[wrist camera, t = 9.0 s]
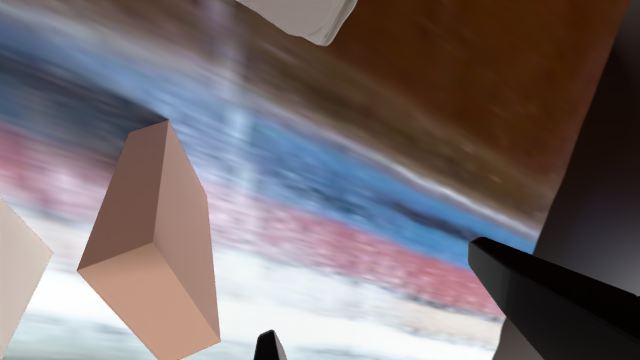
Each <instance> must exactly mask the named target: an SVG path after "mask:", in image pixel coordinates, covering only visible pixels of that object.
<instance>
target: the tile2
mask: <svg viewBox="0 0 640 360" xmlns="http://www.w3.org/2000/svg"><path fill="white" fill-rule="evenodd" d="M53 253H54V252H53V251H52V250H51V249H50V248H49V247H48V246H47V245H46V244H45V243H44V242H43V241H42V240H41V239H40V237H39V236H38V235H37V234H36V233H35V232H34V231H33V230H32V229H31V228H30V227H29V226H28V225H27V224H26V223H25V222H24V220H23V219H22V218H21V217H20V216H19V215H18V214H17V213H16V212H15V211H14V210H13V209H12V208H11V207H10V206H9V205H8V204H7V202H6V201H5V200H4V199H3V198H2V197H1V196H0V360H1V359H2V357H3V355H4V353H5V351H6V349H7V346H8V344H9V342H10V340H11V338H12V336H13V334H14V332H15V330H16V328H17V326H18V324H19V322H20V320H21V318H22V316H23V314H24V312H25V310H26V308H27V306H28V304H29V302H30V300H31V298H32V295H33V293H34V291H35V289H36V287H37V285H38V283H39V281H40V279H41V277H42V275H43V273H44V271H45V269H46V267H47V265H48V263H49V261H50V259H51V257H52V255H53Z"/></svg>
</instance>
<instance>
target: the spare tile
mask: <svg viewBox="0 0 640 360" xmlns="http://www.w3.org/2000/svg"><path fill="white" fill-rule="evenodd" d="M77 272H78V273H79V274H80V275H81V276H82V277H83V278H84V280H85V281H86V282H87V283H88V284H89V285H90V286H91V287H92V288H93V289H94V290H95V291H96V293H97V294H98V295H99V296H100V297H101V298H102V299H103V300H104V301H105V302H106V303H107V305H108V306H109V307H110V308H111V309H112V310H113V311H114V312H115V313H116V314H117V315H118V317H119V318H120V319H121V320H122V321H123V322H124V323H125V324H126V325H127V326H128V327H129V328H130V330H131V331H132V332H133V333H134V334H135V335H136V336H137V337H138V338H139V339H140V340H141V342H142V343H143V344H144V345H145V346H146V347H147V348H148V349H149V350H150V351H151V352H152V354H153V355H154V356H155V357H156V358H157V359H158V360H180V359H182V358H185V357H187V356H189V355H192V354H194V353H196V352H198V351H201V350H203V349H205V348H208V347H210V346H212V345H214V344H217V343H219V342H221V340H220V330H219V319H218V308H217V298H216V287H215V277H214V266H213V255H212V245H211V234H210V224H209V213H208V203H207V195H206V193H205V191H204V189H203V187H202V185H201V183H200V181H199V179H198V177H197V175H196V173H195V171H194V169H193V167H192V165H191V163H190V161H189V159H188V157H187V155H186V153H185V151H184V149H183V147H182V145H181V143H180V141H179V139H178V137H177V135H176V133H175V131H174V129H173V127H172V125H171V123H170V121H169V120H166V121H163V122H160V123H157V124H154V125H150V126H147V127H144V128H141V129H138V130H135V131H132V132H129V134H128V137H127V139H126V142H125V145H124V147H123V150H122V152H121V155H120V158H119V160H118V163H117V166H116V168H115V171H114V174H113V176H112V179H111V182H110V184H109V187H108V189H107V192H106V195H105V197H104V200H103V203H102V205H101V208H100V211H99V213H98V216H97V218H96V221H95V224H94V226H93V229H92V232H91V234H90V237H89V240H88V242H87V245H86V247H85V250H84V253H83V255H82V258H81V261H80V263H79V266H78V269H77Z"/></svg>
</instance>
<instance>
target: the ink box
mask: <svg viewBox="0 0 640 360" xmlns="http://www.w3.org/2000/svg"><path fill="white" fill-rule="evenodd" d="M236 1H238V2H240V3H241V4H243V5H245V6H247V7H248V8H250V9H252V10H254V11H256V12H258V13H259V14H260V15H261V16H263V17H264V18H266V19H267V20H268V21H270V22H271V23H273V24H274V25H276V26H277V27H279V28H280V29H282V30H283V31H284V32H286V33H287V34H290V35H294V36H302V37H304V38H306V39H307V40H309V41H311V42H313V43H315V44H316V45H323V46H327V45H329V44H330V43H331V42H332V40H333V39H334V37H335V35H336V34H337V32H338V30H339V29H340V27H341V25H342V24H343V22H344V21H345V20H346V18H347V17H348V16H349V14H350V13H351V12H352V10H353V9H354V7H355V5H356V2H357V0H236Z"/></svg>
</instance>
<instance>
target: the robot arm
mask: <svg viewBox="0 0 640 360" xmlns="http://www.w3.org/2000/svg"><path fill="white" fill-rule="evenodd" d="M468 263H469V266H470V268H471V269H472V270H473V272H474V273H475V275H476V276H477V277H478V279H479V280H480V282H481V283H482V284H483V286H484V287H485V289H486V290H487V291H488V293H489V294H490V295H491V297H492V298H493V300H494V301H495V302H496V304H497V305H498V307H499V308H500V309H501V311H502V312H503V313H504V314H505V316H506V317H507V318H508V319H509V320H510V321H511V322H512V324H513V325H514V326H515V327H516V328H517V329H518V330H519V332H520V333H521V334H522V335H523V336H524V337H525V338H526V340H527V341H528V342H529V343H530V344H531V345H532V346H533V347H534V349H535V350H536V351H537V352H538V353H539V354H540V355H541V356H542V358H543V359H544V360H640V296H638V297H637V296H636V295H635V294H633V293H630V292H628V291H625V290H622V289H620V288H617V287H614V286H612V285H609V284H607V283H604V282H602V281H599V280H596V279H594V278H591V277H588V276H586V275H583V274H580V273H578V272H575V271H573V270H570V269H567V268H565V267H562V266H560V265H557V264H554V263H552V262H549V261H546V260H544V259H541V258H539V257H536V256H533V255H531V254H528V253H526V252H523V251H520V250H518V249H515V248H513V247H510V246H507V245H505V244H502V243H499V242H497V241H494V240H492V239H489V238H486V237H479V238H476V239H474V240H472V241H470V242H469V245H468ZM254 360H287V358H286V355H285V352H284V349H283V347H282V345H281V343H280V341H279V339H278V337H277V335H276V333H275V331H274V330H269V331H267V332H265V333H262V334H260V335H259V337H258V339H257V344H256V349H255V355H254Z"/></svg>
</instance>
